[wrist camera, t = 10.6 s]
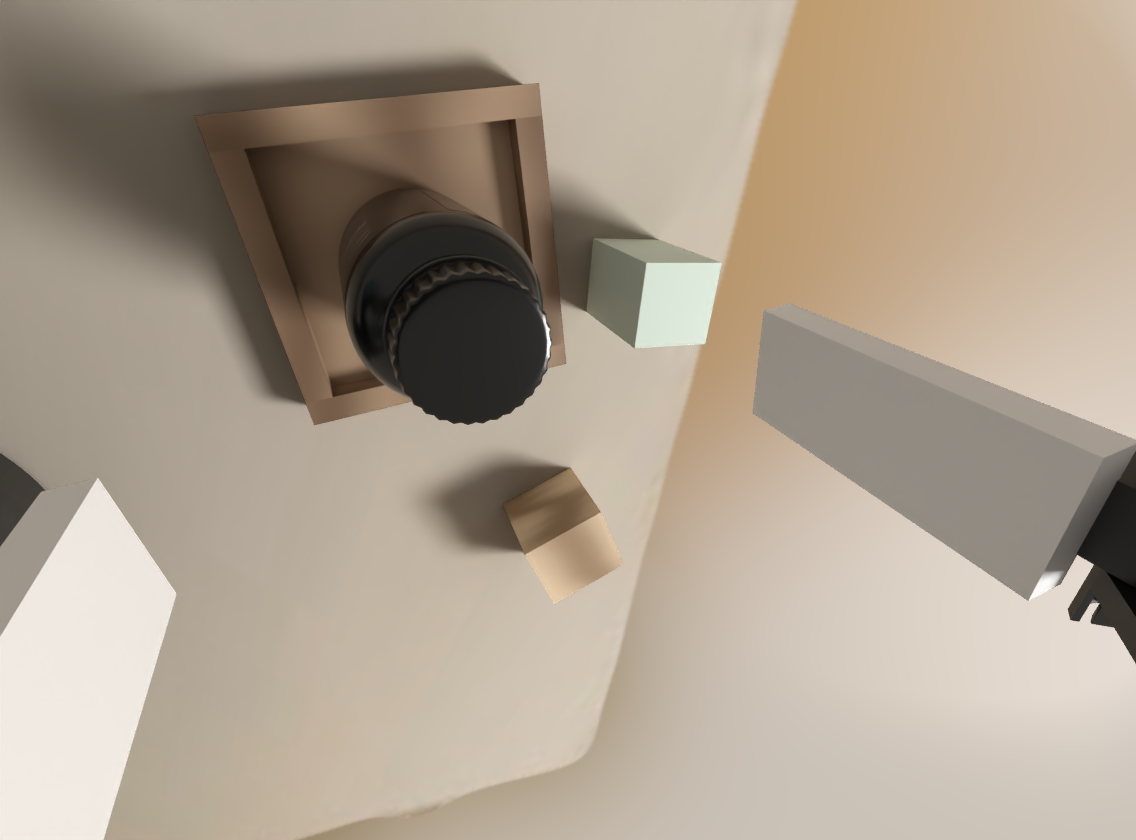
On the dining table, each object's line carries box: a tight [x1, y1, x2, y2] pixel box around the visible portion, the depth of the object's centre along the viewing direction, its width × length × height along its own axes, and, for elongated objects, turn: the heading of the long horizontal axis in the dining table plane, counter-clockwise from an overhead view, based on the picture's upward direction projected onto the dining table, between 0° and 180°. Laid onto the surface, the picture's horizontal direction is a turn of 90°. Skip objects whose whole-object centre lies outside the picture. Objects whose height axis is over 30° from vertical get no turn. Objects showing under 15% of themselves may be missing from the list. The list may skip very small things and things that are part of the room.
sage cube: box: [586, 238, 721, 348], centre depth 28 cm, size 4×4×6 cm
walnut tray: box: [194, 83, 566, 425], centre depth 25 cm, size 13×13×2 cm
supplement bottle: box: [338, 188, 552, 425], centre depth 20 cm, size 7×7×12 cm
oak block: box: [503, 468, 623, 604], centre depth 35 cm, size 5×5×5 cm
